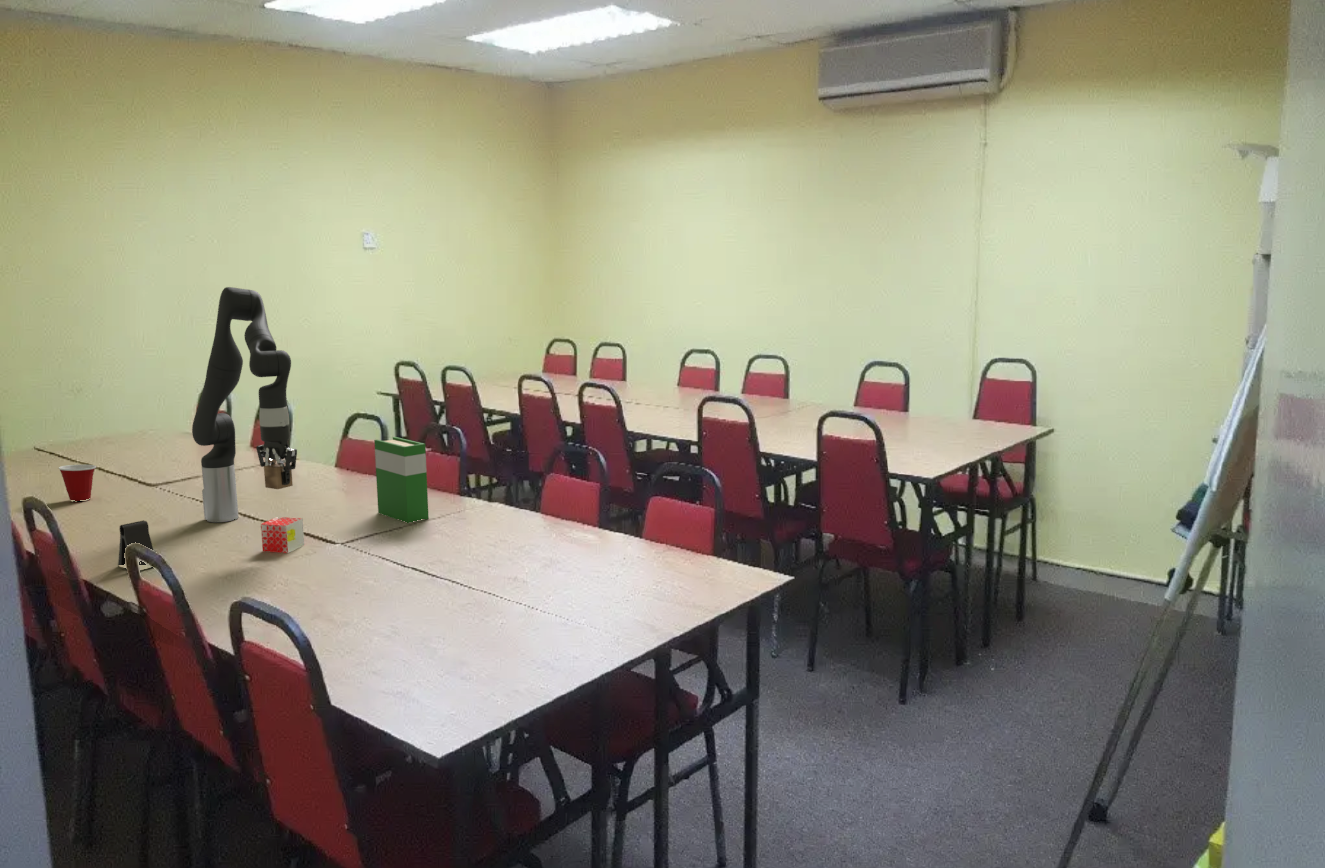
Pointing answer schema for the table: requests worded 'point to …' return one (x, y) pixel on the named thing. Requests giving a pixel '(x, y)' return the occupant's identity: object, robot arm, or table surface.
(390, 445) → the hardback book
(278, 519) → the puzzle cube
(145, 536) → the black tent stand
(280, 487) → the walnut block
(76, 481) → the plastic cup
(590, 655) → the table surface
